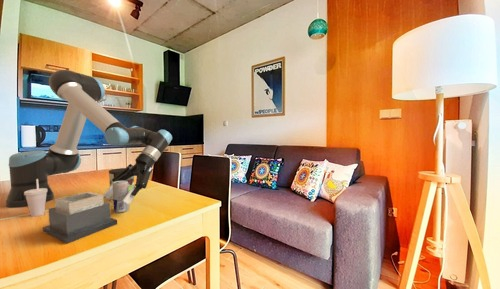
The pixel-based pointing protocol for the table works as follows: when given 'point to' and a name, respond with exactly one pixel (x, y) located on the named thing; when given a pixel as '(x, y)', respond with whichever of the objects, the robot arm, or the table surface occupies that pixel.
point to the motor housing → (78, 217)
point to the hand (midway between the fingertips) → (115, 200)
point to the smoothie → (36, 200)
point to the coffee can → (114, 173)
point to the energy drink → (120, 196)
